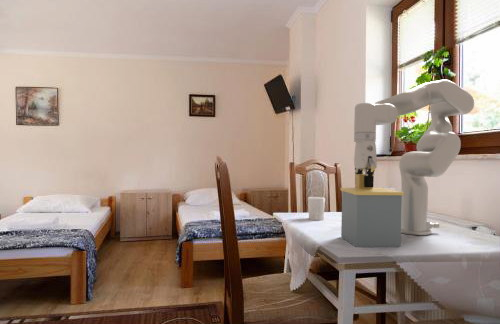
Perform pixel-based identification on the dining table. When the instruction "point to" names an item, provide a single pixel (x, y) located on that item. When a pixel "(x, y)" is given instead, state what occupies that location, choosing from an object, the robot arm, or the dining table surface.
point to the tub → (371, 220)
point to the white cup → (316, 208)
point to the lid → (368, 188)
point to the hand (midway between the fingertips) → (363, 186)
